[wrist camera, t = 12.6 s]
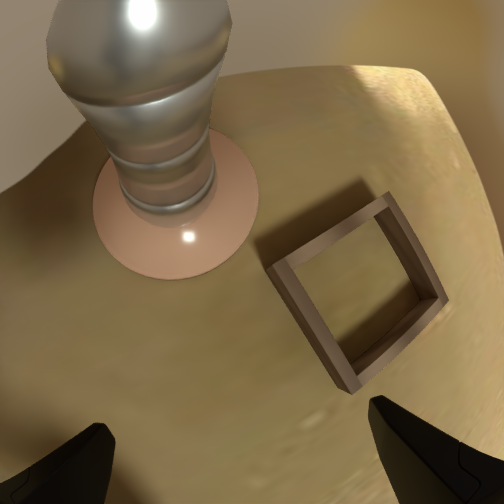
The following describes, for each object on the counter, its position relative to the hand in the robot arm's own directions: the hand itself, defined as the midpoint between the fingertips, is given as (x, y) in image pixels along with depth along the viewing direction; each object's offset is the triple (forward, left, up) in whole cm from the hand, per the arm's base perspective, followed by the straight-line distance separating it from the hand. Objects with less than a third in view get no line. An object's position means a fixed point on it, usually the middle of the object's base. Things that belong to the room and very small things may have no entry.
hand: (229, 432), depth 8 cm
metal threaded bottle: (+4, +12, -12) cm, 17 cm away
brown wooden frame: (+13, -1, -12) cm, 18 cm away
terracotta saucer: (+4, +13, -12) cm, 18 cm away
